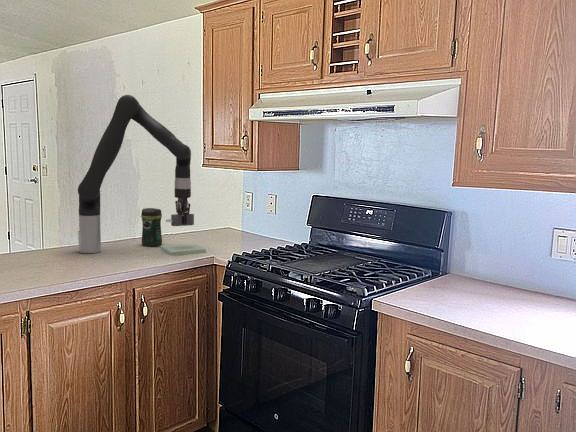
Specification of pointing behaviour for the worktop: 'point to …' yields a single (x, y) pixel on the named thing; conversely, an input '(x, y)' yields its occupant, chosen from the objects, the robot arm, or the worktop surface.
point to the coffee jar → (151, 227)
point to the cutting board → (182, 249)
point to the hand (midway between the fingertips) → (182, 223)
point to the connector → (180, 220)
